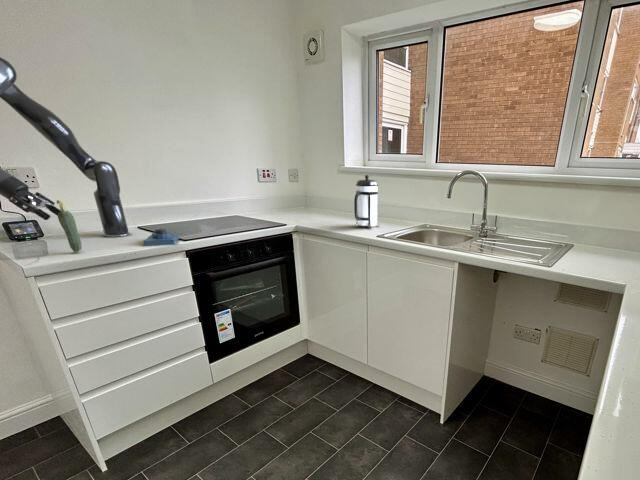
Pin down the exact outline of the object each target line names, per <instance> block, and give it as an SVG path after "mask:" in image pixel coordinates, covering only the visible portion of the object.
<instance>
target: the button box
mask: <svg viewBox="0 0 640 480" xmlns="http://www.w3.org/2000/svg"><path fill="white" fill-rule="evenodd" d="M179 239H180V235H179V233H172V232H170V231H166V234H156V232H155V231H154V232H152V233H151V234H150V235H149V236H147V237H146V238H145V239H144V240H143V243H144V247H150V246H174V245H176V244H177V242H178V241H179Z"/></svg>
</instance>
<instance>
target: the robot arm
mask: <svg viewBox="0 0 640 480" xmlns="http://www.w3.org/2000/svg"><path fill="white" fill-rule="evenodd" d="M17 75H18V74H17V71H16V69H15V68H14V66H13V65H12V64H11V63H10V62H9V61H8V60H6V59H5V58H3V57H1V56H0V99H1V100H2V101H3V102H5V103H6V104H7V105H8V106H10V107H11V108H12V109H13V110H14V111H15V112H16V113H17V114H18V115H19V116H21V118H22V119H24V120H25V121H26V122H28V123H29V125H31V127H32V128H34V129H35V130H36V131H37V132H38V133H39V134H40V135H41V136H42V137H44V139H46V140H47V141H48V142H49V143H50V144H52V145H53V146H54V147H55V148H56V149H57V150H58V151H60V153H62V154H63V155H64V156H66V158H68V159H69V160H70V162H72V164H74V166H75V167H76V168H77V169H78V170H79V171H80V173H82V174H83V175H84V176H85V177H86V178H87V179H89V180H90V181H92V182H94V183H95V184H96V190H95V191H93V197H94V201H95V204H96V208H97V211H98V215H99V219H100V222H101V226H102V232H103V234H104V236H105V237H107V238H119V237H124V236H130V231H129V227H128V224H127V220H126V219H127V218H126V215H125V212H124V208H123V203H122V199H121V195H120V194H121V186H120V181H119V176H118V173H117V170H116V168H115V166H114V165H112V164H111V163H110V162H108V161H104V160H96V159H95V158H94V157H93V156H92V155H90V154H89V153H88V152H87V151H85V149H83V147H82V145H80V143H79V141H78V139H77V137H76V135H75V133H74V132H73V130H71V128H70V127H69V125H67V124H66V123H65V122H64V121H63V119H61V118H60V117H59V116H58V115H56V113H54V112H53V111H52V110H50V109H49V108H47V107H45V106H44V105H42V104H41V103H39V102H37V101H36V100H35V99H33V98H31V97H30V96H28V94H26V93H25V92H24V91H22V90H21V89H20V87H18V86H17V85H16V84H15V83H16V82H17V78H18V76H17ZM0 196H2V197H4V198H5V199H7V200H8V201H9V202H10V203H11V204H13V205H14V206H15V207H17V208H19V209H20V210H21V211H23V212H25V213H28V214H29V213H31V214H35V215H37V217H40V218H41V219H43V220H44V221H48V220H49V219H50V218H51V215H50V214H49V213H47V212H46V211H44V210H43V209H45V210H48V211H49V212H51V213H52V214H54V215H55V216H57V217H58V213H59V212H60V211H62V210H60V208H59V207H57V206H55V205H56V203H55V202H54V201H53V200H51V199H50V198H48V197H46V196H45V195H44V194H42V193H40V192H39V191H37V192H35V193H33V192H31V191H29V185H28V184H26V183H24V182H23V181H22V180H20V179H18V178H17V177H16V176H14V175H13V174H11V173H10V172H8V171H6V170H5V169H3V168H1V167H0Z"/></svg>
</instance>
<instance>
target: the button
mask: <svg viewBox="0 0 640 480" xmlns="http://www.w3.org/2000/svg"><path fill="white" fill-rule="evenodd" d="M155 232H156V234H166V232H167V229H166V228H156V229H154V233H155Z"/></svg>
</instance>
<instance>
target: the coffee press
mask: <svg viewBox="0 0 640 480" xmlns="http://www.w3.org/2000/svg"><path fill="white" fill-rule="evenodd" d="M369 178H370V176H369V174H365V175H364V179H359V180H357V181H356V183H355V186H356V190H355V195H354V201H353V203H354V206H353V207H354V208H353V209H354V218H355V220H356V222H355V224H354V227H355V228H358V227H359V226H360V227H367V229H368V230H371V229H372V227H374V226H376V227H377V228H379V227H380V225H379V223H378V193H379V192H378V186H379V184H378V182H377V180H375V179H369Z"/></svg>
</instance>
